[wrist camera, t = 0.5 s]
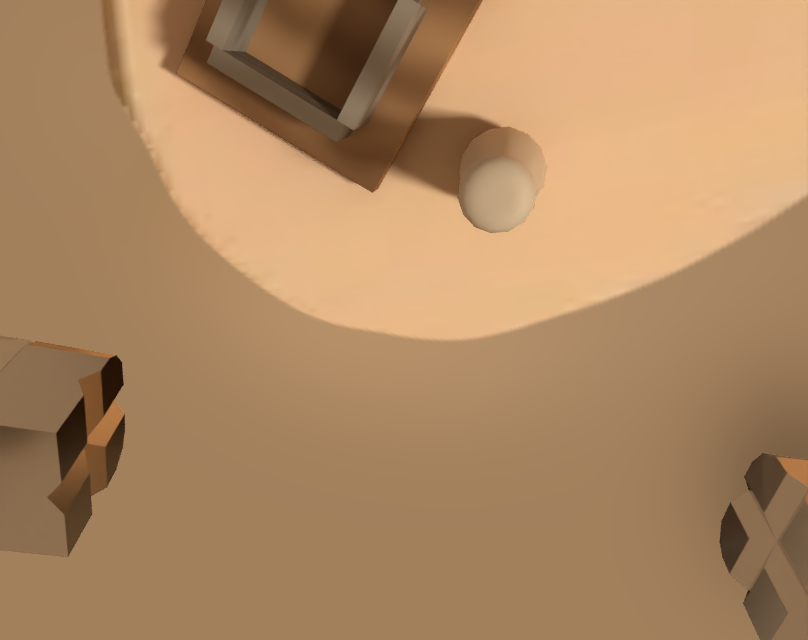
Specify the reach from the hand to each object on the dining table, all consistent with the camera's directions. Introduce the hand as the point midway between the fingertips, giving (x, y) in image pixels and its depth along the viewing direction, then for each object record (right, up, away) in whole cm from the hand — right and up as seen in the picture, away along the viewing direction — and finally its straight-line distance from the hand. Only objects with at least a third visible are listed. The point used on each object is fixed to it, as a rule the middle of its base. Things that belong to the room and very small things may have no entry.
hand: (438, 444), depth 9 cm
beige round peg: (+7, +12, +42) cm, 44 cm away
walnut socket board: (-5, +22, +40) cm, 46 cm away
